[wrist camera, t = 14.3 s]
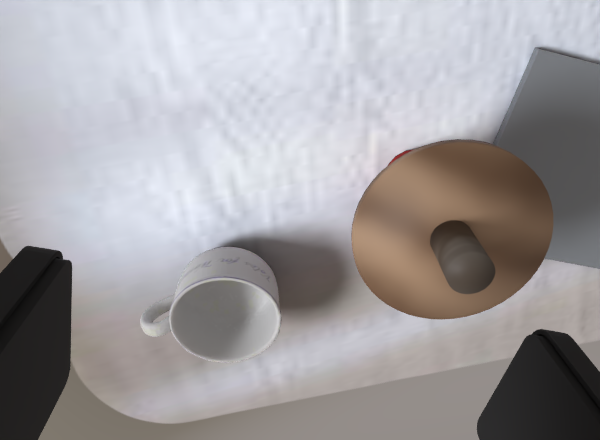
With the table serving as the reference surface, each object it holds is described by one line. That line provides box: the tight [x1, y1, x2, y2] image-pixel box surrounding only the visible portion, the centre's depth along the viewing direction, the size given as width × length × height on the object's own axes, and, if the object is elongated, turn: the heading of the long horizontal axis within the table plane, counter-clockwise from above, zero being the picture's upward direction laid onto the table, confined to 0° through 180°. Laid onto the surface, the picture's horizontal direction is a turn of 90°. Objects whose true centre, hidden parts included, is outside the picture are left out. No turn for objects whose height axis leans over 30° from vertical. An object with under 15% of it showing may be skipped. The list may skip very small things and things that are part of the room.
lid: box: [352, 139, 553, 319], centre depth 34 cm, size 15×15×6 cm
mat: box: [493, 48, 600, 269], centre depth 48 cm, size 20×20×1 cm
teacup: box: [141, 247, 281, 363], centre depth 49 cm, size 14×11×8 cm
